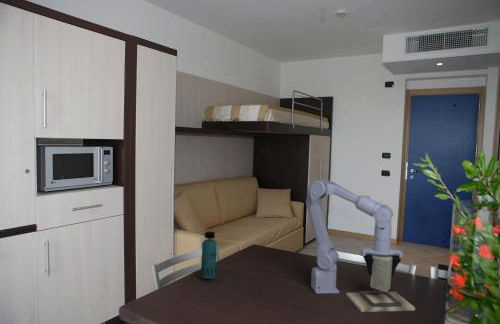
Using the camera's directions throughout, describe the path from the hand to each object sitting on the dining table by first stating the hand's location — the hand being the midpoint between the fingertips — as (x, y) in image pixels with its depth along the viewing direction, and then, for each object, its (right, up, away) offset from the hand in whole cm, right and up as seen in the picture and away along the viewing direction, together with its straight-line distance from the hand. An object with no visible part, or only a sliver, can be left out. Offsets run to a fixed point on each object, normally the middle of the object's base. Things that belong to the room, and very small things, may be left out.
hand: (380, 275), depth 124 cm
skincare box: (0, -5, 0) cm, 5 cm away
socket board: (0, -10, +1) cm, 10 cm away
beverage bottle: (-66, -8, +17) cm, 68 cm away
